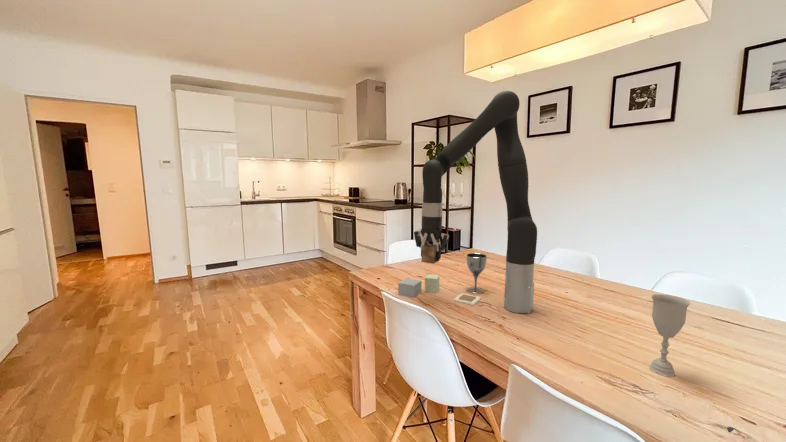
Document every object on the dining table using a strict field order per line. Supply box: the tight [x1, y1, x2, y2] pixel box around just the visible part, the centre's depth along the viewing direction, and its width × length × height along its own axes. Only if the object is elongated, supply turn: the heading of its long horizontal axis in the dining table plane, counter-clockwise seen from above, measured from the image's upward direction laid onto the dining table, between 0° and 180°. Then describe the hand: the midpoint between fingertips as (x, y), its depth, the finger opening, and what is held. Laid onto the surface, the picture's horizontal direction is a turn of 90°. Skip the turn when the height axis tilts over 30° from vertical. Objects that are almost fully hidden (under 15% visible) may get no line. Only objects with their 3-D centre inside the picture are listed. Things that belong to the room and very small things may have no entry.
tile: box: [453, 293, 482, 306], centre depth 124 cm, size 8×8×1 cm
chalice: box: [649, 293, 692, 377], centre depth 77 cm, size 7×7×18 cm
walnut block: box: [421, 243, 439, 264], centre depth 121 cm, size 5×5×6 cm
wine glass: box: [466, 252, 488, 294], centre depth 133 cm, size 8×8×15 cm
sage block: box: [424, 274, 440, 294], centre depth 134 cm, size 5×5×6 cm
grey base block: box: [397, 277, 422, 299], centre depth 130 cm, size 7×7×5 cm
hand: (430, 259), depth 122 cm, fingers closed on walnut block, 5 cm apart
